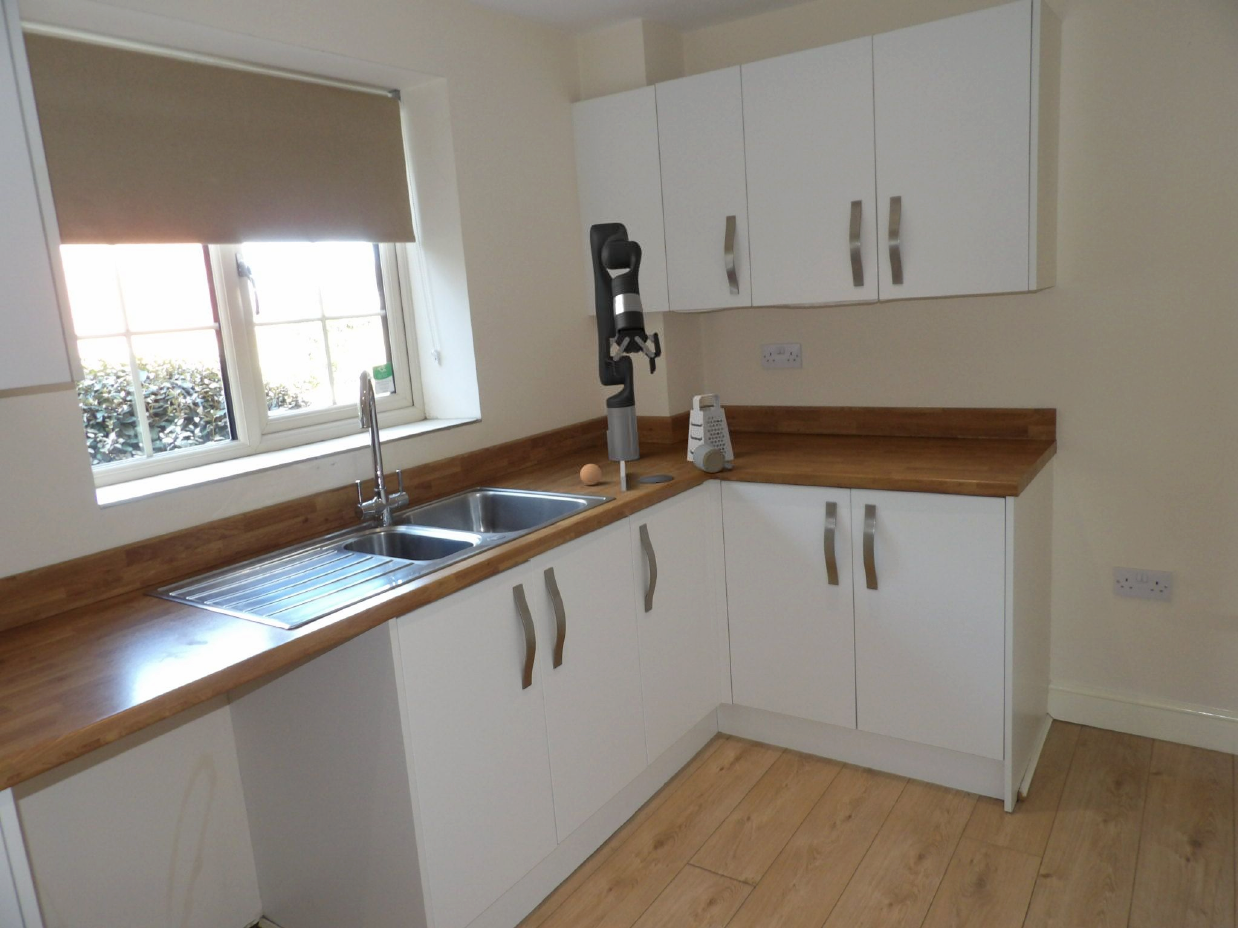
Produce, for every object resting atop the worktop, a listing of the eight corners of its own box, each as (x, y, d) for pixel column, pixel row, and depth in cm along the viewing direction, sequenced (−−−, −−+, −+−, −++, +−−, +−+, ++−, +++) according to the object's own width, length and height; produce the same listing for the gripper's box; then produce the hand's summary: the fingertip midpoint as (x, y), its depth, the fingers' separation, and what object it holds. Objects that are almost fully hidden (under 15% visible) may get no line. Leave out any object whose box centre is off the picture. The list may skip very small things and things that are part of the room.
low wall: (621, 474, 265) (620, 461, 264) (625, 474, 265) (624, 460, 264) (621, 491, 242) (620, 476, 241) (626, 490, 241) (625, 476, 241)
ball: (576, 486, 254) (574, 465, 252) (592, 481, 258) (590, 461, 257) (591, 487, 249) (589, 466, 248) (606, 483, 253) (604, 462, 252)
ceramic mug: (703, 475, 254) (702, 448, 252) (693, 470, 261) (691, 444, 260) (738, 470, 257) (737, 444, 255) (726, 466, 264) (725, 440, 263)
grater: (734, 459, 274) (730, 394, 270) (704, 464, 270) (699, 398, 266) (716, 455, 283) (711, 392, 280) (687, 460, 279) (682, 396, 276)
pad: (630, 481, 253) (630, 480, 253) (654, 474, 260) (654, 473, 260) (656, 484, 246) (656, 483, 246) (680, 477, 253) (680, 476, 253)
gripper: (654, 317, 236) (662, 376, 233) (600, 322, 235) (607, 381, 232) (657, 307, 229) (664, 368, 226) (601, 312, 228) (608, 373, 225)
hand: (635, 374), depth 229 cm, fingers open, 8 cm apart
